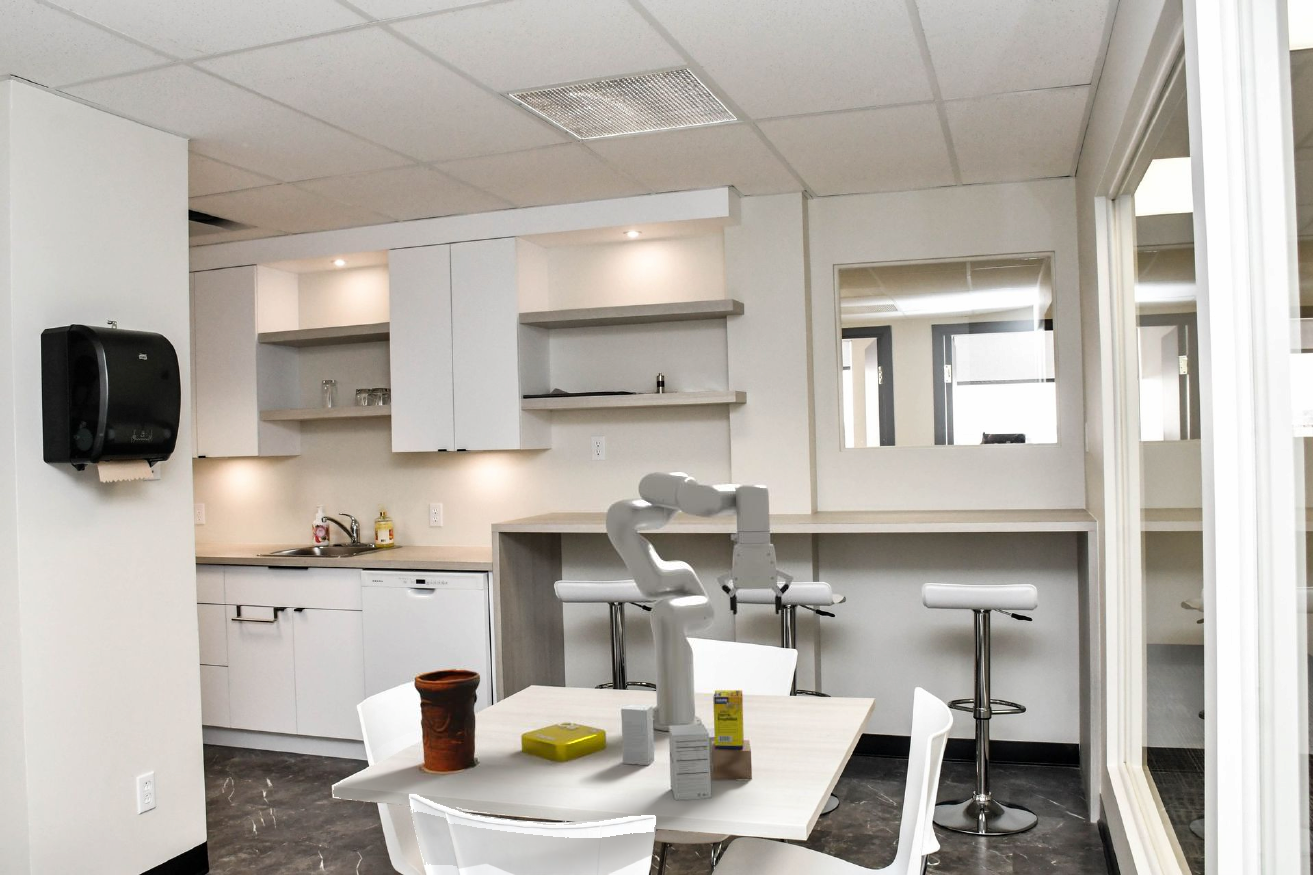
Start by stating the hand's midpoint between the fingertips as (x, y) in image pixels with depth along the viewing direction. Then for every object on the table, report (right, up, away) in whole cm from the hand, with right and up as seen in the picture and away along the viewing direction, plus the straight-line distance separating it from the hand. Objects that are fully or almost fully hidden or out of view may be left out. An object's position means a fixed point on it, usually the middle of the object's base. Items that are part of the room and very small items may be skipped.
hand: (756, 613), depth 229 cm
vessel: (-69, -33, -7) cm, 76 cm away
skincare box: (-27, -31, -10) cm, 42 cm away
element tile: (-44, -32, +2) cm, 55 cm away
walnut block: (-7, -30, -20) cm, 37 cm away
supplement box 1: (-16, -30, -32) cm, 46 cm away
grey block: (-10, -31, -9) cm, 33 cm away
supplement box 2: (-8, -24, -20) cm, 32 cm away
